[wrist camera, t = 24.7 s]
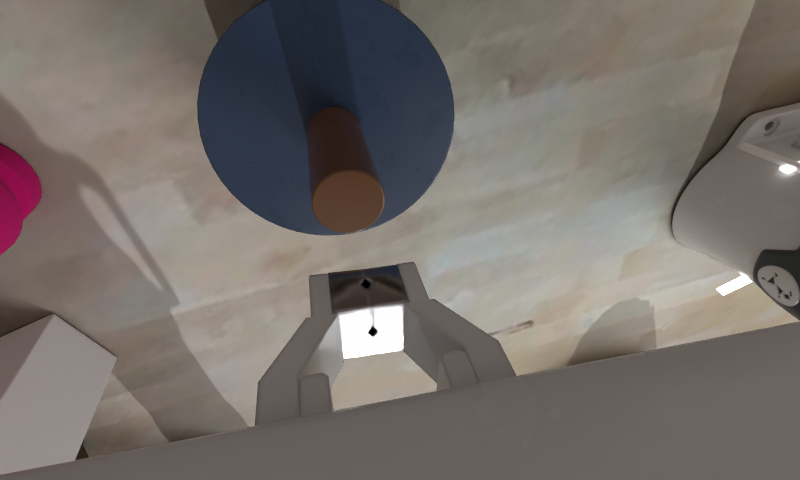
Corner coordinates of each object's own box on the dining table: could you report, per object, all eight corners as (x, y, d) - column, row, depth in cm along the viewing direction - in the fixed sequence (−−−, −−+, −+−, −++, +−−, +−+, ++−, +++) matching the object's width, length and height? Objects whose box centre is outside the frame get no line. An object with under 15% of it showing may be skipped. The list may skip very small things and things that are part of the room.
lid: (405, -65, 18) (468, -65, 11) (470, 175, 26) (530, 256, 19) (140, 53, 18) (57, 118, 12) (283, 254, 26) (280, 357, 20)
